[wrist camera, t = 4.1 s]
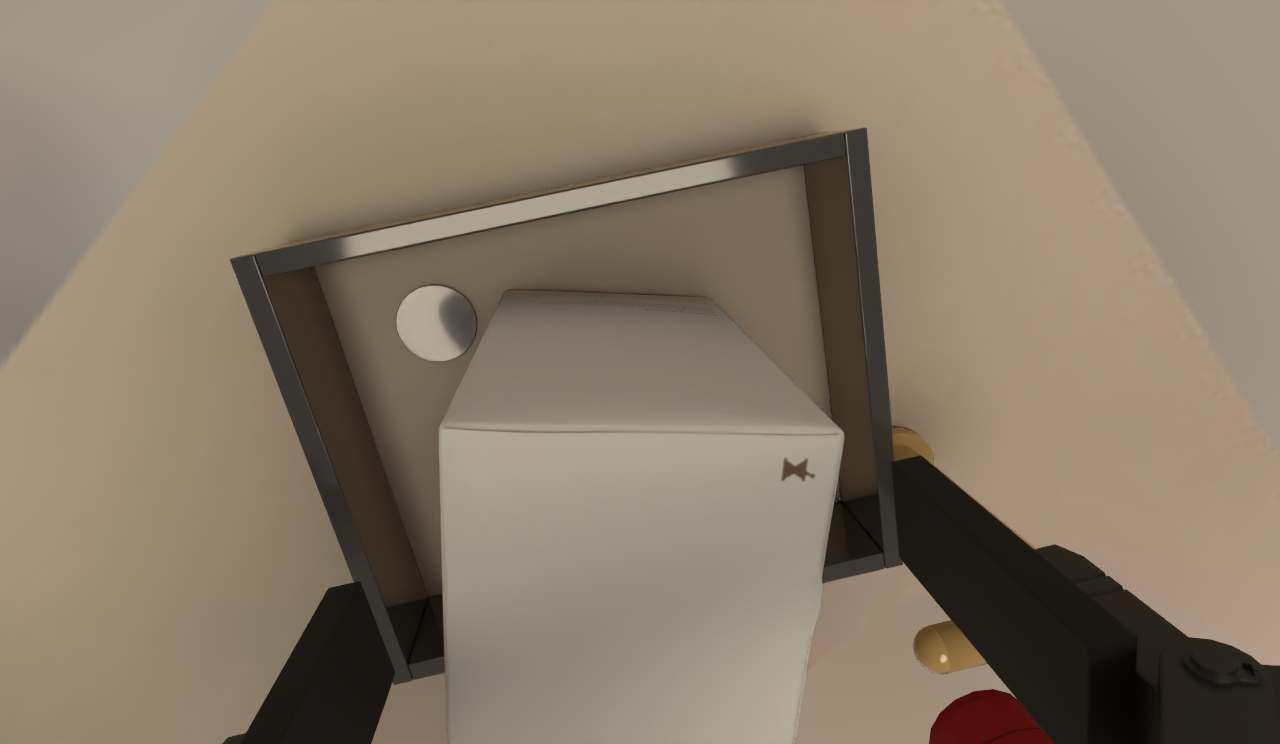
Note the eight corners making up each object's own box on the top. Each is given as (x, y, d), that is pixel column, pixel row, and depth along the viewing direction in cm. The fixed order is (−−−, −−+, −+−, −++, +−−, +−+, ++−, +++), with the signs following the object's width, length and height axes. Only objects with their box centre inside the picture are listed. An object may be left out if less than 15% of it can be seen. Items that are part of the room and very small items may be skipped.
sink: (416, 615, 32) (329, 880, 20) (284, 243, 26) (56, 306, 14) (928, 496, 33) (1131, 680, 21) (902, 115, 27) (1157, 78, 16)
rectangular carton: (498, 284, 27) (427, 412, 13) (713, 294, 29) (861, 423, 14) (497, 485, 30) (436, 774, 16) (694, 488, 31) (803, 760, 17)
